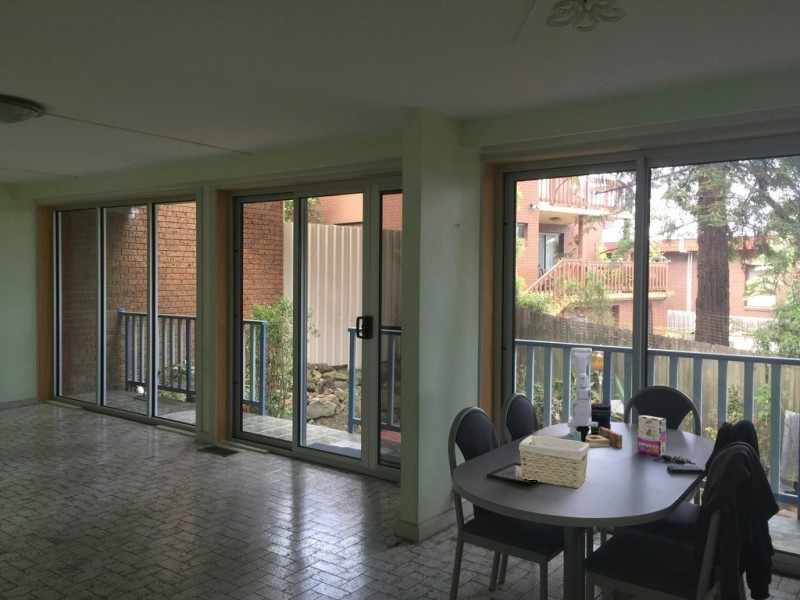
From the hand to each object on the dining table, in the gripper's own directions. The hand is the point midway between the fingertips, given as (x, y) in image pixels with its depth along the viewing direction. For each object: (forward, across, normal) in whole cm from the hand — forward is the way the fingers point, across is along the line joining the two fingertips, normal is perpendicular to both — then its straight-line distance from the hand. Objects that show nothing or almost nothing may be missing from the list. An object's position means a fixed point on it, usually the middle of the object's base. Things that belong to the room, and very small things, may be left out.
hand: (582, 442), depth 298 cm
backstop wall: (+1, +14, 0) cm, 14 cm away
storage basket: (+2, -37, -49) cm, 62 cm away
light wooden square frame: (+1, +6, 0) cm, 6 cm away
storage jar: (+1, +19, +18) cm, 26 cm away
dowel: (+1, -7, -8) cm, 11 cm away
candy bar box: (+1, +23, -20) cm, 31 cm away
